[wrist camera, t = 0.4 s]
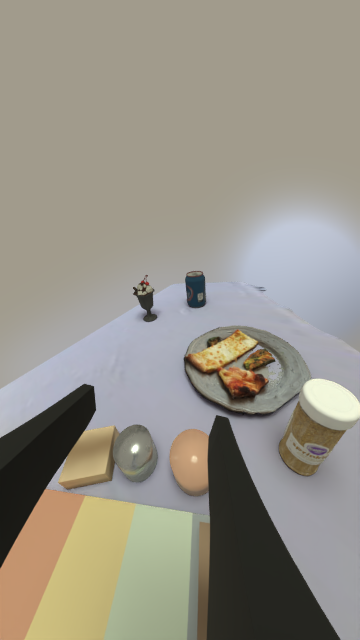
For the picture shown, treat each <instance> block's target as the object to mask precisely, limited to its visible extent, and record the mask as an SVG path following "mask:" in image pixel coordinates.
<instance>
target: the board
mask: <svg viewBox="0 0 360 640" xmlns="http://www.w3.org/2000/svg"><path fill="white" fill-rule="evenodd" d="M200 522H205V523H210V516H208V515H202V514H196V513H190V512H184V511H177V510H171V509H165V508H159V507H153V506H147V505H140V504H134V503H128V502H122V501H116V500H110V499H104V498H97V497H91V496H85V495H79V494H73V493H67V492H60V491H54V490H48V489H45V490H44V492H43V494H42V496H41V497H40V499H39V501H38V502H37V504H36V506H35V507H34V509H33V511H32V513H31V514H30V516H29V518H28V520H27V521H26V523H25V525H24V527H23V528H22V530H21V532H20V534H19V535H18V537H17V539H16V541H15V543H14V544H13V546H12V548H11V550H10V552H9V554H8V555H7V557H6V559H5V561H4V563H3V565H2V567H1V568H0V640H197V619H198V572H199V525H200Z"/></svg>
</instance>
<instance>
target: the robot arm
mask: <svg viewBox="0 0 360 640" xmlns="http://www.w3.org/2000/svg"><path fill="white" fill-rule="evenodd" d="M95 411H96V404H95V393H94V386H91V385H87V384H83V385H82V386H80V387H79V388H77V389H76V390H74V391H73V392H71V393H70V394H69V395H67V396H66V397H64V398H63V399H61V400H60V401H58V402H57V403H55V404H54V405H52V406H51V407H49V408H48V409H46V410H45V411H43V412H42V413H40V414H39V415H37V416H36V417H34V418H32V419H31V420H29V421H28V422H26V423H24V424H23V425H21V426H20V427H18V428H16V429H15V430H13V431H11V432H10V433H8V434H6V435H4V436H3V437H1V438H0V568H1V567H2V565H3V563H4V561H5V559H6V557H7V555H8V554H9V552H10V550H11V548H12V546H13V544H14V543H15V541H16V539H17V537H18V535H19V534H20V532H21V530H22V528H23V527H24V525H25V523H26V521H27V520H28V518H29V516H30V514H31V513H32V511H33V509H34V507H35V506H36V504H37V502H38V501H39V499H40V497H41V496H42V494H43V492H44V490H45V489H46V487H47V485H48V484H49V482H50V481H51V479H52V478H53V476H54V475H55V473H56V472H57V470H58V469H59V467H60V466H61V464H62V463H63V461H64V460H65V459H66V457H67V456H68V454H69V453H70V451H71V450H72V448H73V447H74V445H75V444H76V443H77V441H78V440H79V438H80V437H81V435H82V434H83V432H84V431H85V429H86V428H87V426H88V424H89V422H90V420H91V419H92V417H93V415H94V413H95ZM207 462H208V487H209V510H210V554H209V589H208V616H207V640H340V638H339V636H338V635H337V633H336V632H335V630H334V628H333V627H332V625H331V623H330V622H329V620H328V618H327V617H326V615H325V614H324V612H323V610H322V609H321V607H320V605H319V604H318V602H317V600H316V598H315V597H314V595H313V593H312V592H311V590H310V588H309V586H308V585H307V583H306V581H305V580H304V578H303V576H302V574H301V573H300V571H299V569H298V567H297V566H296V564H295V562H294V561H293V559H292V557H291V555H290V553H289V552H288V550H287V548H286V546H285V544H284V542H283V541H282V539H281V537H280V535H279V533H278V531H277V529H276V527H275V526H274V524H273V522H272V520H271V518H270V516H269V514H268V512H267V510H266V508H265V506H264V504H263V502H262V500H261V498H260V496H259V493H258V491H257V489H256V487H255V485H254V483H253V480H252V478H251V476H250V474H249V471H248V469H247V467H246V464H245V462H244V459H243V457H242V455H241V452H240V450H239V447H238V444H237V442H236V439H235V436H234V434H233V431H232V428H231V425H230V422H229V419H228V418H226V417H222V416H218V415H216V418H215V421H214V423H213V426H212V429H211V432H210V435H209V438H208V458H207Z"/></svg>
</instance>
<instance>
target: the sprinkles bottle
mask: <svg viewBox="0 0 360 640" xmlns="http://www.w3.org/2000/svg"><path fill="white" fill-rule="evenodd" d="M359 418H360V403H359V401H358V400H357V398H356V397H355V396H354V395H353V394H352V393H351V392H350V391H348V390H347V389H346V388H344V387H342V386H341V385H339V384H337V383H334V382H332V381H328V380H324V379H312V380H309V381H307V382H306V383H305V384H304V385H303V387H302V389H301V391H300V394H299V401H298V403H297V406H296V408H295V409H294V411H293V413H292V415H291V418H290V420H289V422H288V425H287V427H286V430H285V432H284V437H283V439H282V440H281V441H280V444H279V452H280V455H281V457H282V459H283V460H284V462H285V463H286V464H287V465H288V467H289V468H291V469H292V470H293V471H295V472H296V473H299V474H301V475H304V476H306V475H307V476H309V475H312V474H314V473H315V472H316V471H317V469H318V466H319V465H320V464H321V463H322V462H323V461H324V460H325V459H326V458H327V456H328V455H329V454H330V453H331V451H332V450H333V448H334V446H335V445H336V444H337V442H338V441H339V439H340V438H341V437H342V435H343V434H344V433H345V432H346V430H348V429H350V428H352V427H353V426H354V425H355V424H356V422H357V421H358V420H359Z"/></svg>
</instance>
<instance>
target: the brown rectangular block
mask: <svg viewBox="0 0 360 640" xmlns="http://www.w3.org/2000/svg"><path fill="white" fill-rule="evenodd" d="M209 554H210V523H205V522H200V525H199V572H198V619H197V640H207V616H208V589H209Z"/></svg>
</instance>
